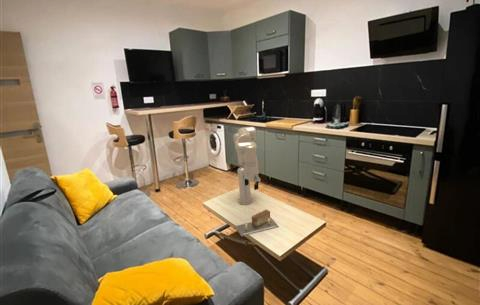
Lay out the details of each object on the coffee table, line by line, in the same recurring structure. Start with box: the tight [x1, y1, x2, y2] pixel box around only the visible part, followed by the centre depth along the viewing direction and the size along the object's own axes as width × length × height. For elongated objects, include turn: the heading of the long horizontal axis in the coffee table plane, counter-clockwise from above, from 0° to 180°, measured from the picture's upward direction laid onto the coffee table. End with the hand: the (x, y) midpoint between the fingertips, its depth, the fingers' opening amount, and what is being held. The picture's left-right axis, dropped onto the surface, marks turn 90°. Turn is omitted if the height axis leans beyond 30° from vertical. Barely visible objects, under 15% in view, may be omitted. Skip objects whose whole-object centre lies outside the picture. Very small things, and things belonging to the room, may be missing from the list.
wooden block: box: [251, 209, 271, 229], centre depth 169 cm, size 4×14×8 cm, turn 129°
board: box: [235, 217, 280, 237], centre depth 167 cm, size 13×28×6 cm, turn 109°
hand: (251, 187), depth 162 cm, fingers open, 9 cm apart
